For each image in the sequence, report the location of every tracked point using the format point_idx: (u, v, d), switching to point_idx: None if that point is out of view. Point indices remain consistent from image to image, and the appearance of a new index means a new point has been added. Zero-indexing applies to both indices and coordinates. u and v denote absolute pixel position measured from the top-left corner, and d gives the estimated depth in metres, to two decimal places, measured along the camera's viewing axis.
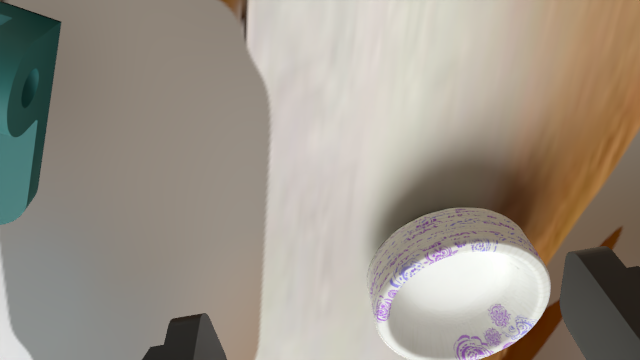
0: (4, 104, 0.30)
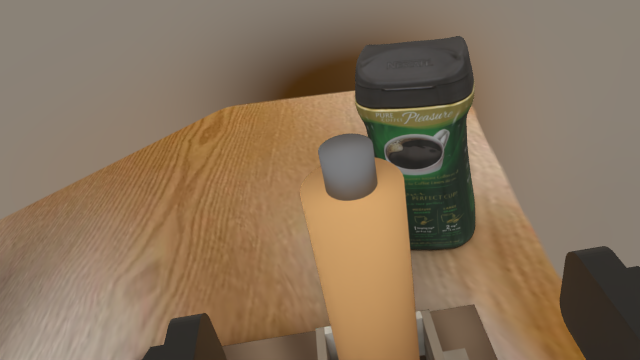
0: None
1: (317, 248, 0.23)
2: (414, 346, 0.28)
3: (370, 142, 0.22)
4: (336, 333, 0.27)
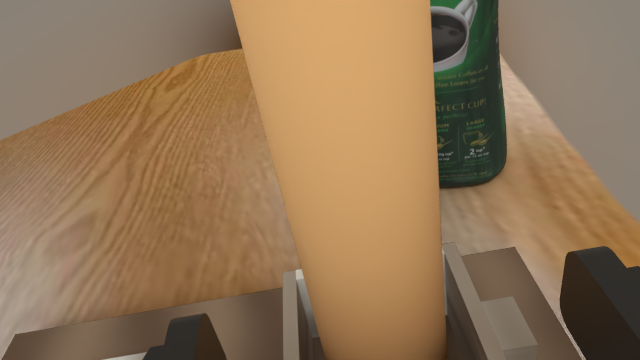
0: None
1: (254, 59, 0.12)
2: (438, 278, 0.16)
3: None
4: (302, 252, 0.15)
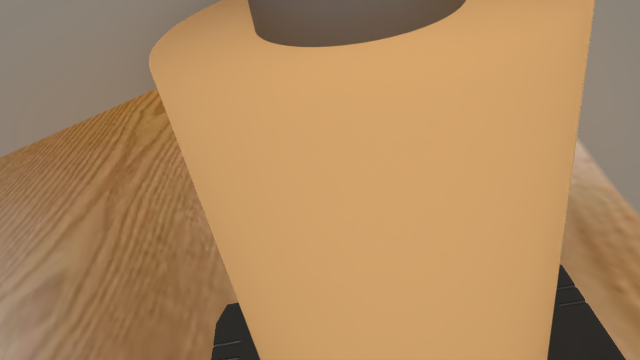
0: None
1: (229, 262, 0.06)
2: None
3: None
4: None
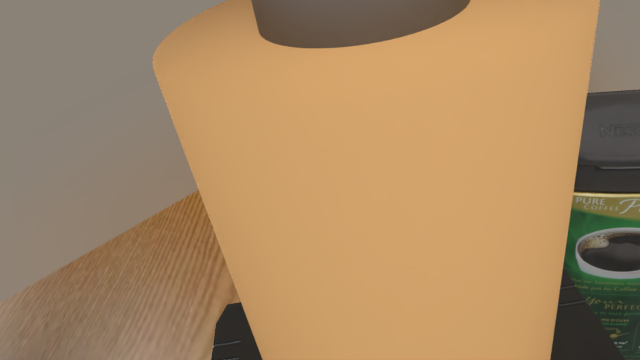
0: None
1: (232, 263, 0.06)
2: None
3: None
4: None
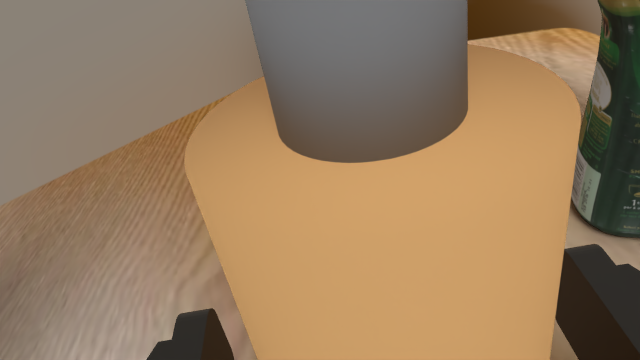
0: None
1: (253, 336, 0.07)
2: None
3: None
4: None
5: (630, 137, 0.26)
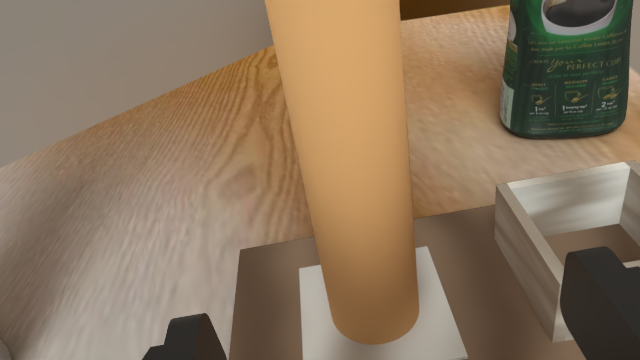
0: None
1: (281, 43, 0.18)
2: (407, 209, 0.22)
3: None
4: (309, 186, 0.21)
5: (528, 58, 0.37)
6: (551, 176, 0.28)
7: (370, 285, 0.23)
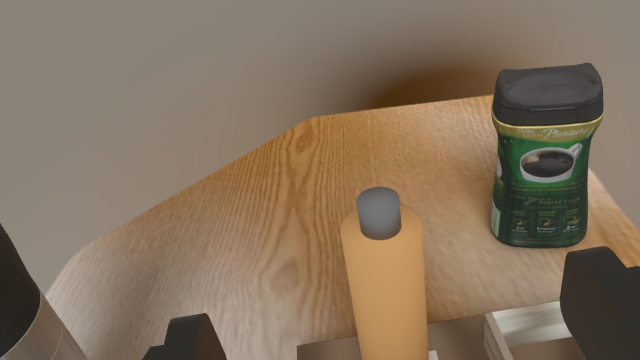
0: None
1: (353, 275, 0.30)
2: (425, 353, 0.34)
3: (397, 195, 0.28)
4: (363, 341, 0.33)
5: (511, 194, 0.49)
6: (523, 308, 0.40)
7: None
